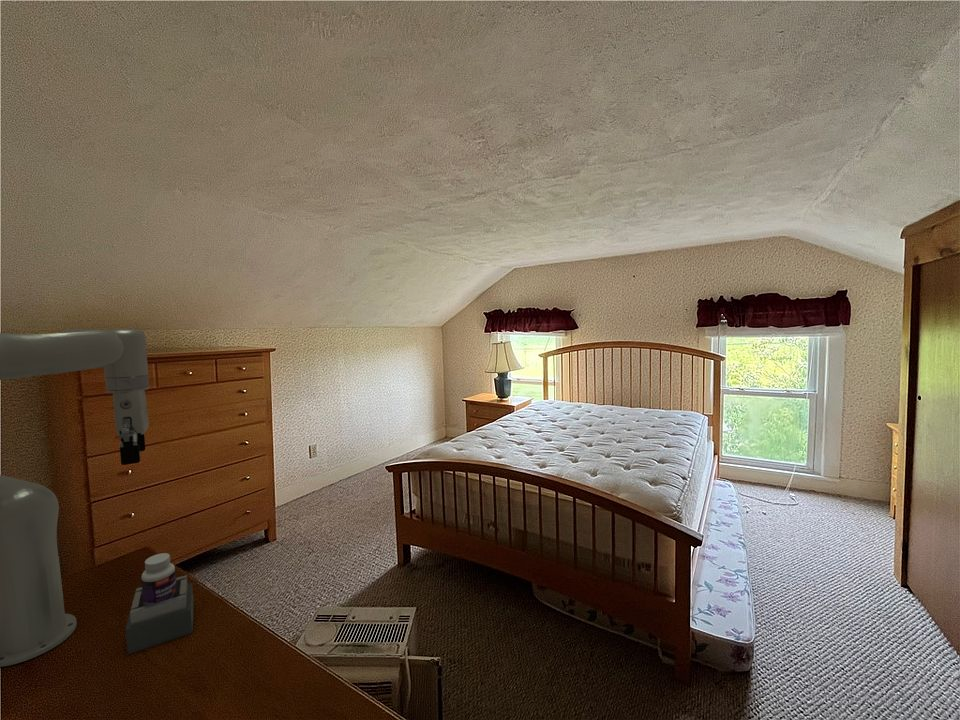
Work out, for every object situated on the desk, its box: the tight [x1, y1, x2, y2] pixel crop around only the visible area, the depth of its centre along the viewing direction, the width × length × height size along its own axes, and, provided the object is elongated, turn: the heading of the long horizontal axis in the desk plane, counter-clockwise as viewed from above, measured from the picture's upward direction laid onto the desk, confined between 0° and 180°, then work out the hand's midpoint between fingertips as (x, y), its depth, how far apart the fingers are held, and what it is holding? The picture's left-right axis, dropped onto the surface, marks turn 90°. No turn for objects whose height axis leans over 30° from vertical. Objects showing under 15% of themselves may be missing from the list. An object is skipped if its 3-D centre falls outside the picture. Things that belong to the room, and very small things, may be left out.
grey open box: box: [125, 574, 195, 655], centre depth 85 cm, size 10×10×8 cm
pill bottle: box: [140, 552, 177, 606], centre depth 85 cm, size 5×5×10 cm
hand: (134, 457), depth 97 cm, fingers open, 9 cm apart
